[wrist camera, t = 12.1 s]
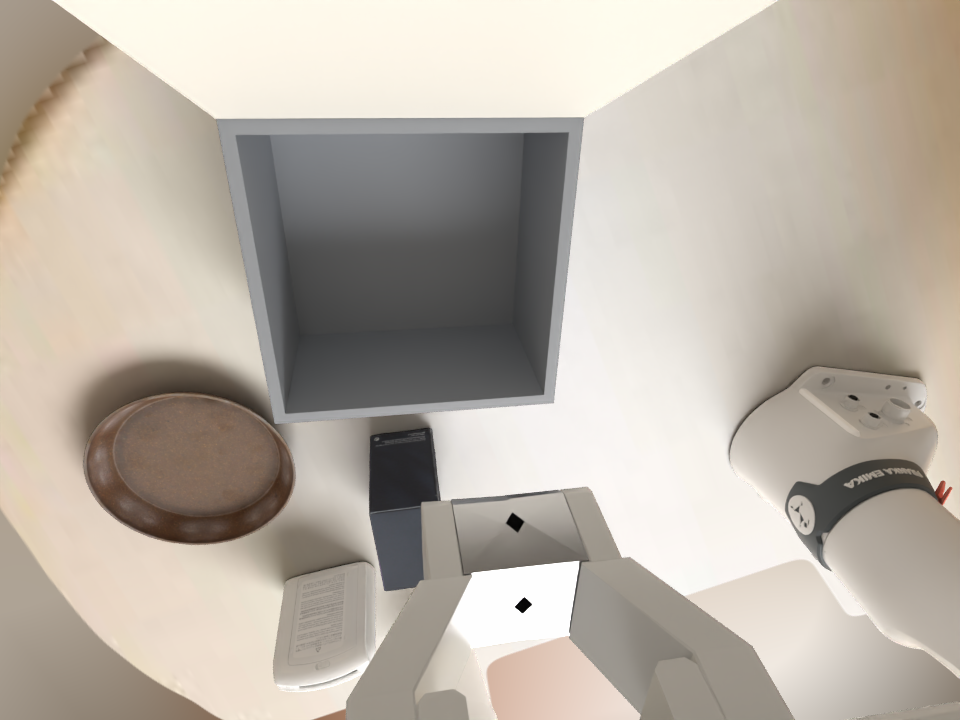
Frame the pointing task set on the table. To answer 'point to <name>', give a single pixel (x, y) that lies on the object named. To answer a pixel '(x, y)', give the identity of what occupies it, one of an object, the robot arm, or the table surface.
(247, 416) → the plant saucer
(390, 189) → the carton
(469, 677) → the foam cup
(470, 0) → the lid flap
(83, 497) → the table surface
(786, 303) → the table surface
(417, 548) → the small box
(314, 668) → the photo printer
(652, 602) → the robot arm
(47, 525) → the table surface
